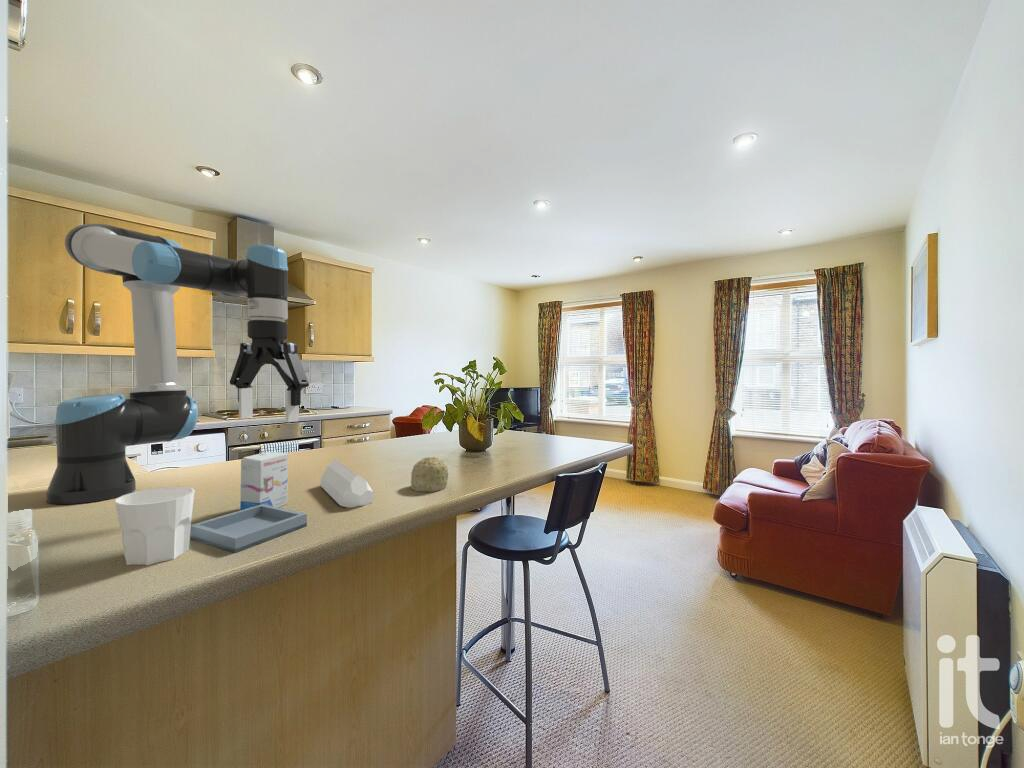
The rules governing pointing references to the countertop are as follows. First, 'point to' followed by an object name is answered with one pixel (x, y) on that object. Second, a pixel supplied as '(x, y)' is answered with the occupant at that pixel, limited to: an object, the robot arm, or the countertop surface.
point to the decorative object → (429, 475)
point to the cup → (155, 523)
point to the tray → (247, 527)
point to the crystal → (346, 486)
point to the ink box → (264, 480)
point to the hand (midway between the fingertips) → (268, 419)
